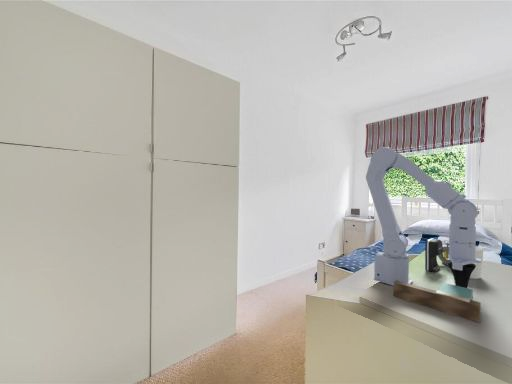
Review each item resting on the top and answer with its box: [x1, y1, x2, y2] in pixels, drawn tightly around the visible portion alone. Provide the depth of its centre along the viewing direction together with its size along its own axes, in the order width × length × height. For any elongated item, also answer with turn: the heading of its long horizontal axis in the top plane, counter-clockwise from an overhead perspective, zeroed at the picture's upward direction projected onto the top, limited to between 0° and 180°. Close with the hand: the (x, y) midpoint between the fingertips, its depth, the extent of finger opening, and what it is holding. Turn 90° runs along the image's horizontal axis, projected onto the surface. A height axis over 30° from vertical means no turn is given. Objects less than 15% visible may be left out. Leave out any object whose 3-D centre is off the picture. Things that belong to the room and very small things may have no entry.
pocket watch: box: [437, 240, 451, 266], centre depth 92 cm, size 8×8×10 cm
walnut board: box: [393, 280, 482, 323], centre depth 62 cm, size 18×2×4 cm, turn 42°
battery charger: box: [424, 238, 444, 273], centre depth 87 cm, size 7×4×11 cm, turn 127°
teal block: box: [438, 282, 474, 301], centre depth 62 cm, size 6×7×4 cm
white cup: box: [469, 245, 484, 280], centre depth 82 cm, size 8×8×10 cm
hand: (461, 288), depth 68 cm, fingers closed
